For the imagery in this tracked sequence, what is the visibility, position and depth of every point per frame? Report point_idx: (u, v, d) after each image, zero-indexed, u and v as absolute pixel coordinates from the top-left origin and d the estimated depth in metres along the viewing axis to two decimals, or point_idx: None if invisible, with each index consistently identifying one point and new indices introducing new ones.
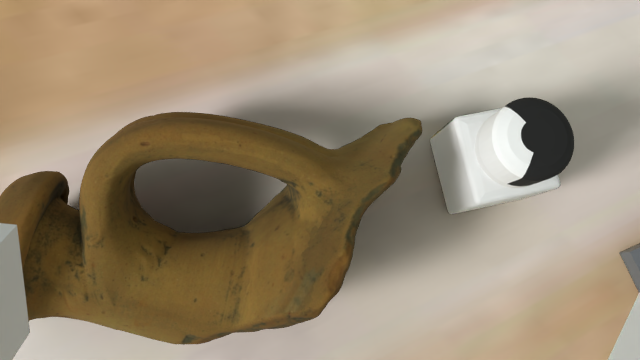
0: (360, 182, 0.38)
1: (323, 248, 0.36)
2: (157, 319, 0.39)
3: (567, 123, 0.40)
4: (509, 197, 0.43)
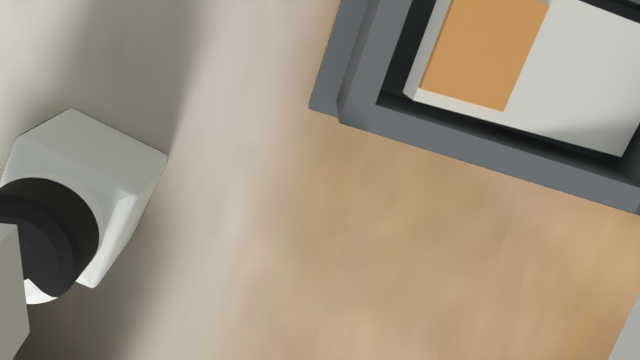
0: None
1: None
2: None
3: (21, 207, 0.27)
4: (110, 254, 0.33)
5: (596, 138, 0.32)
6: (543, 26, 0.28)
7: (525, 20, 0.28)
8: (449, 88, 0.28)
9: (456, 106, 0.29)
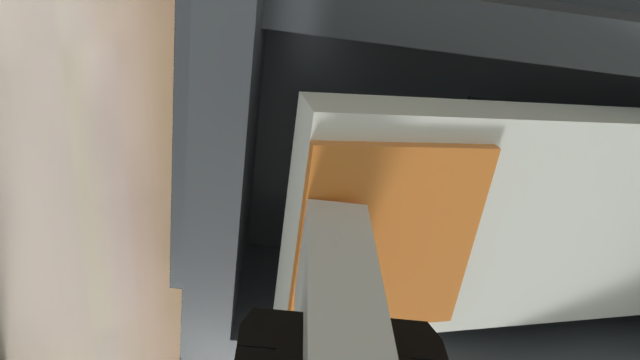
0: None
1: None
2: None
3: None
4: None
5: (622, 302, 0.19)
6: (497, 178, 0.15)
7: (458, 184, 0.15)
8: None
9: None
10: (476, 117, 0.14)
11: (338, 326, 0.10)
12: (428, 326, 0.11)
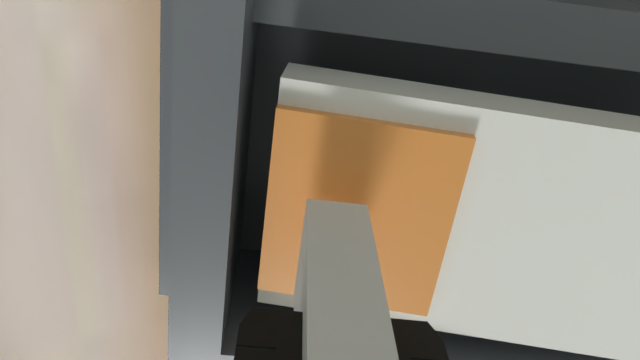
0: None
1: None
2: None
3: None
4: None
5: None
6: (479, 173, 0.15)
7: (428, 170, 0.14)
8: None
9: None
10: (451, 103, 0.14)
11: (338, 326, 0.10)
12: (429, 325, 0.11)
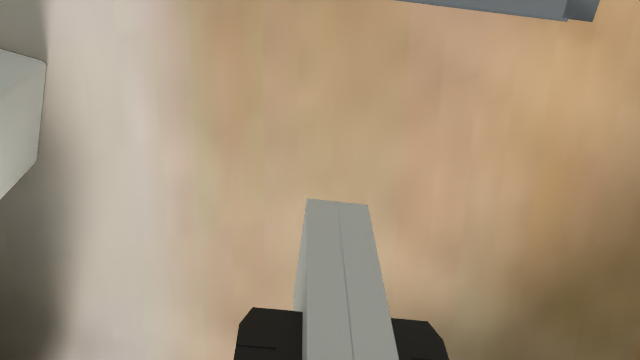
0: None
1: None
2: None
3: None
4: None
5: None
6: None
7: None
8: None
9: None
10: None
11: (338, 326, 0.10)
12: (428, 326, 0.11)
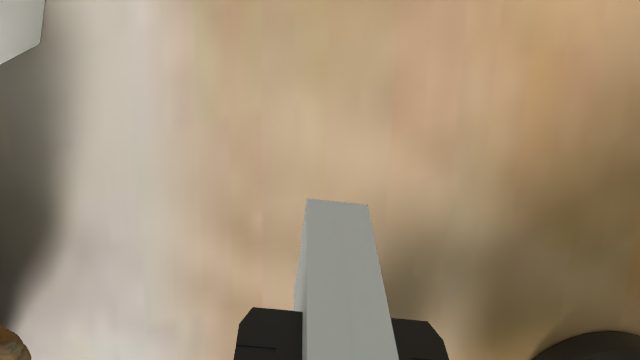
0: None
1: None
2: None
3: None
4: None
5: None
6: None
7: None
8: None
9: None
10: None
11: (338, 326, 0.10)
12: (429, 325, 0.11)
